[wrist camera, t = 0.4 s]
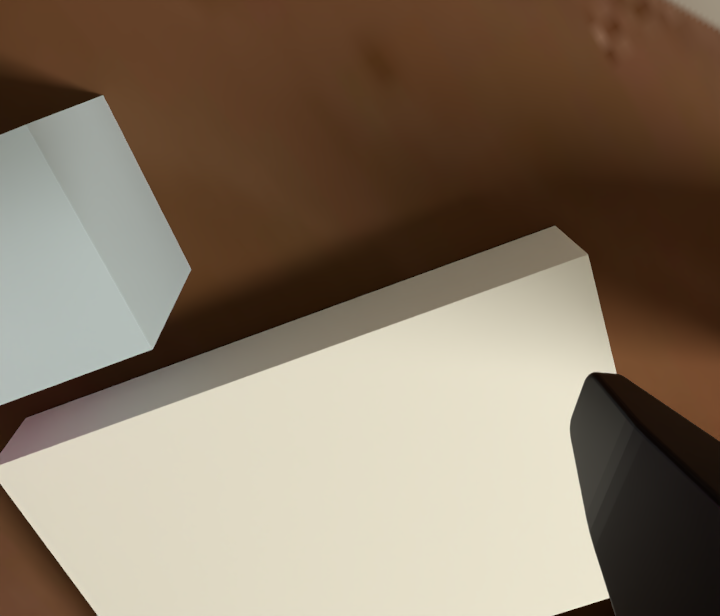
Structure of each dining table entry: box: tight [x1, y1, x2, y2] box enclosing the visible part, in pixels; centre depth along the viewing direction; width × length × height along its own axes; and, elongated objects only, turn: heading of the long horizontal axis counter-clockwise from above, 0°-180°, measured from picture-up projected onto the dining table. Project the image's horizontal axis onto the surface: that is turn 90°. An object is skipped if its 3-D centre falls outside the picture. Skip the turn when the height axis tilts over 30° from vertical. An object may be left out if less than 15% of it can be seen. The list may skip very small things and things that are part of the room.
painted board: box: [0, 226, 616, 616], centre depth 25 cm, size 20×14×3 cm
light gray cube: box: [0, 95, 191, 405], centre depth 19 cm, size 6×6×6 cm
